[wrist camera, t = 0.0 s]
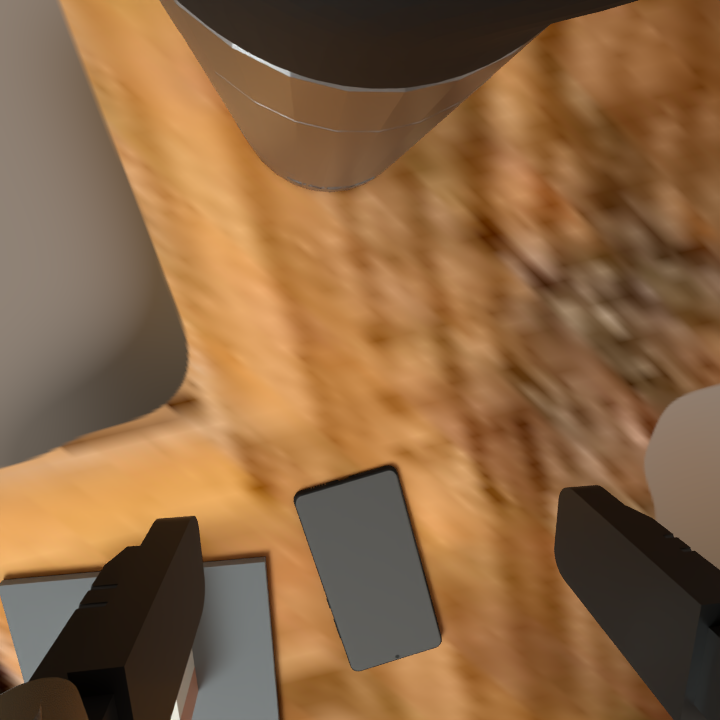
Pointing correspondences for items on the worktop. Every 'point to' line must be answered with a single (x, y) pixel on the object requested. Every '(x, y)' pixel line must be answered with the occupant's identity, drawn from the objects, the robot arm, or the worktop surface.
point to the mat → (211, 644)
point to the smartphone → (369, 567)
